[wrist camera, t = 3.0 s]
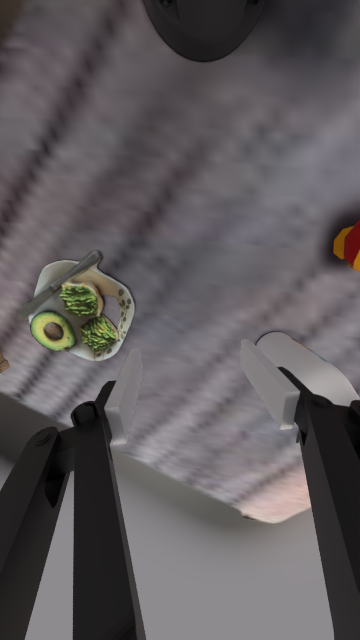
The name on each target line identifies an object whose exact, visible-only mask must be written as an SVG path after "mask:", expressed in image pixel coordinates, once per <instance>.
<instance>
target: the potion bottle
mask: <svg viewBox="0 0 360 640" xmlns="http://www.w3.org/2000/svg"><path fill="white" fill-rule="evenodd" d="M334 254H335V255H337V256H338V257H339V258H340V259H346V260H347V261H348V262H349V263H350V264H352V265H353V266H354V267H352V266H351V265H350V264H349V263H348V262H347V264H348V265H349V266H350V267H351V268H353V269H354V270H356V271H359V272H360V219H359V220H358V222H357V223H356V224H355V225H354V226H352V227H348V228H345V229H343V230H342V231H341V232H340V233H339V235H338V236H337V237H336V239H335V240H334Z"/></svg>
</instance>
